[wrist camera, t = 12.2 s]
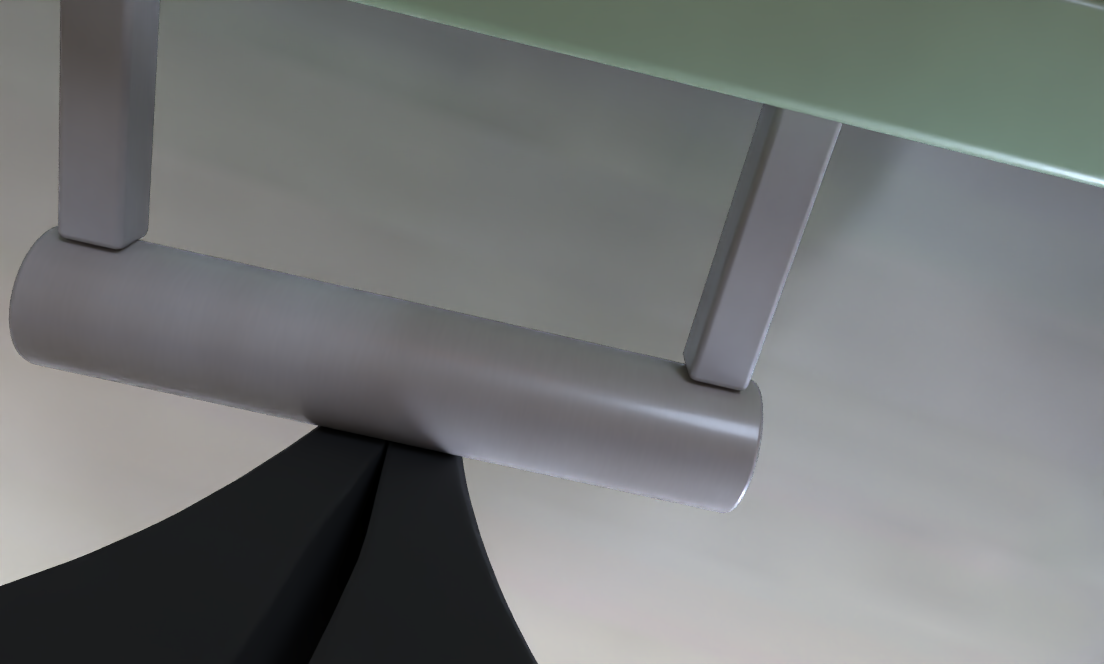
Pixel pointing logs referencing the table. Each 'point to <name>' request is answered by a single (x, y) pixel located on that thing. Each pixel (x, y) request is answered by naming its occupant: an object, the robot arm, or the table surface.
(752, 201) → the drawer
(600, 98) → the table surface
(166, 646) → the robot arm
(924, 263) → the table surface
